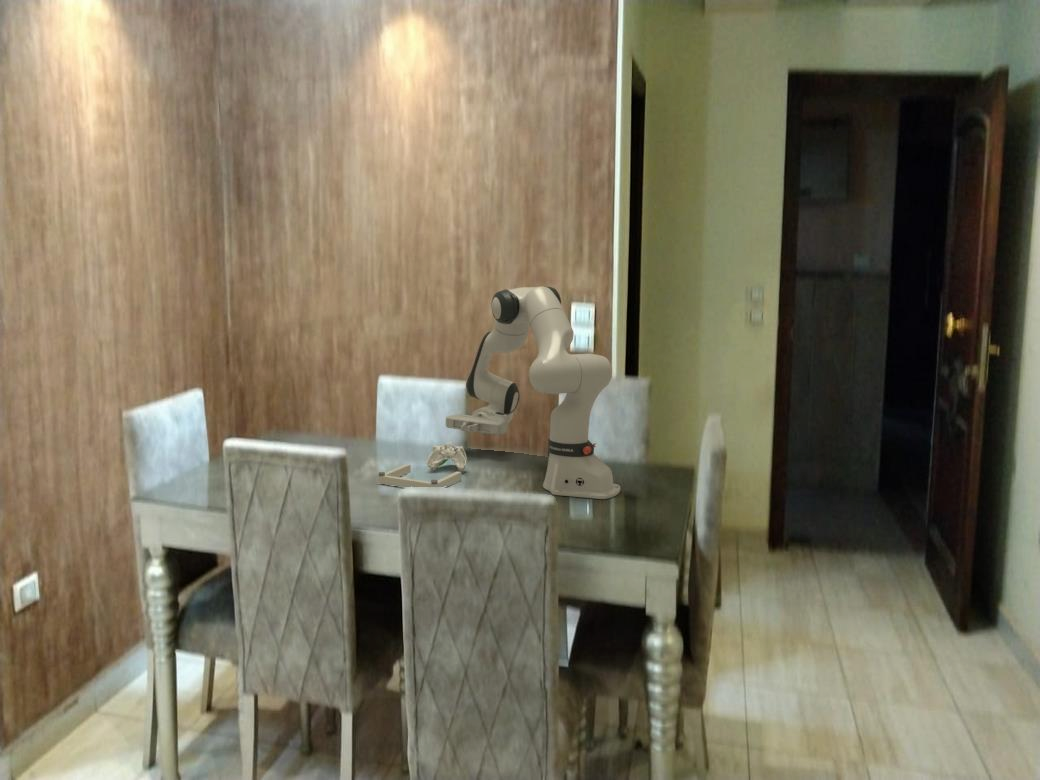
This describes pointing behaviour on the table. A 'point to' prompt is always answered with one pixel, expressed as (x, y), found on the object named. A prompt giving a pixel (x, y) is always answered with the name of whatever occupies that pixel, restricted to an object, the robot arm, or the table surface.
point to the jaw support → (447, 456)
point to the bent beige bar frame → (394, 479)
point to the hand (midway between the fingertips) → (464, 428)
